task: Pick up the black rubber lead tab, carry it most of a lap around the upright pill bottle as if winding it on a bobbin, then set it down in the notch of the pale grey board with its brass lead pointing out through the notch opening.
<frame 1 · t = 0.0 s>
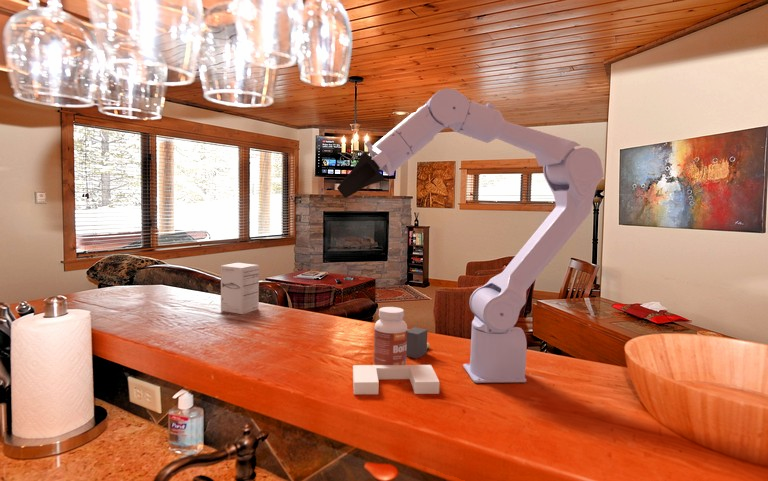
hand: (341, 193, 77), 32 cm above the counter, tool tilted 50°, fingers open, 7 cm apart
supplement box: (240, 311, 124), on the counter
pill bottle: (389, 368, 85), on the counter
notched board: (394, 384, 77), on the counter
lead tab: (415, 354, 93), on the counter
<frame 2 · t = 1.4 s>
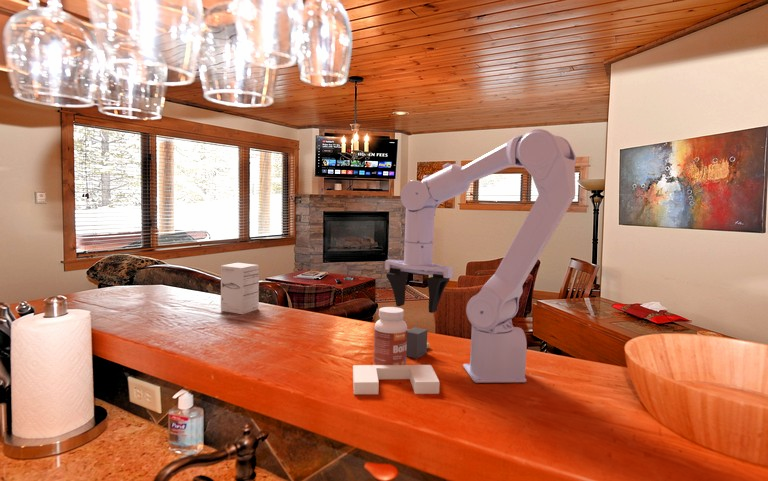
hand: (416, 308, 92), 10 cm above the counter, tool pointing down, fingers open, 7 cm apart
nothing on the counter moved.
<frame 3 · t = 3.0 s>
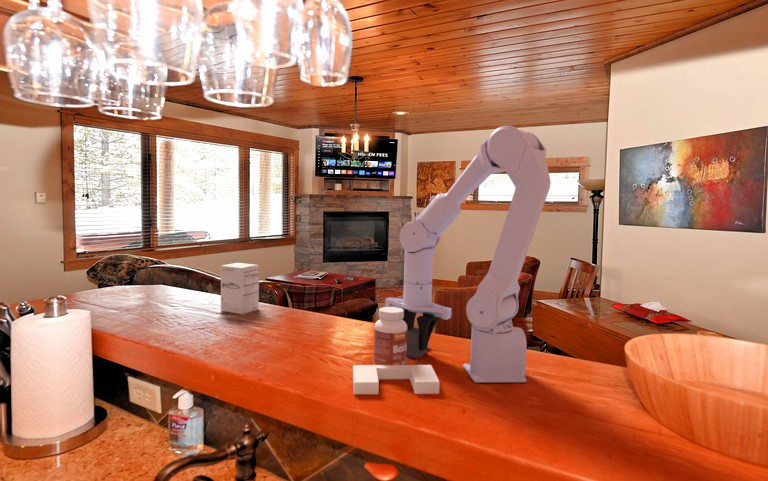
hand: (415, 347, 93), 1 cm above the counter, tool pointing down, fingers closed on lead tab, 3 cm apart
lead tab: (415, 354, 93), on the counter, touching gripper
everything else where it was.
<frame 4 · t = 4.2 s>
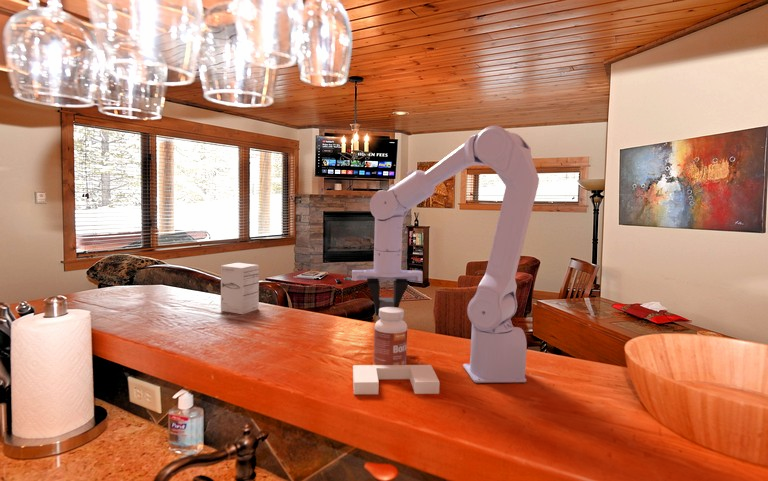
hand: (385, 314, 94), 7 cm above the counter, tool pointing down, fingers closed on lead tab, 3 cm apart
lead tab: (385, 323, 95), point 5 cm above the counter, touching gripper
everything else where it was.
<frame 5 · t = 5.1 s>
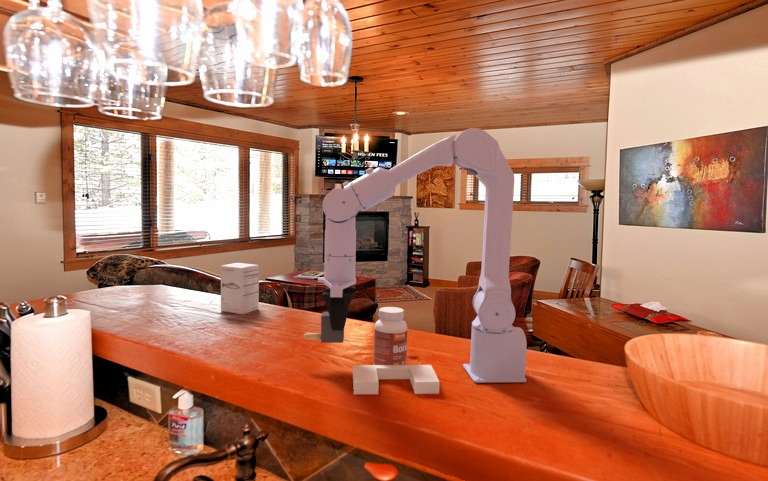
hand: (338, 327, 84), 7 cm above the counter, tool pointing down, fingers closed on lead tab, 3 cm apart
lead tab: (332, 340, 85), point 5 cm above the counter, touching gripper
everything else where it was.
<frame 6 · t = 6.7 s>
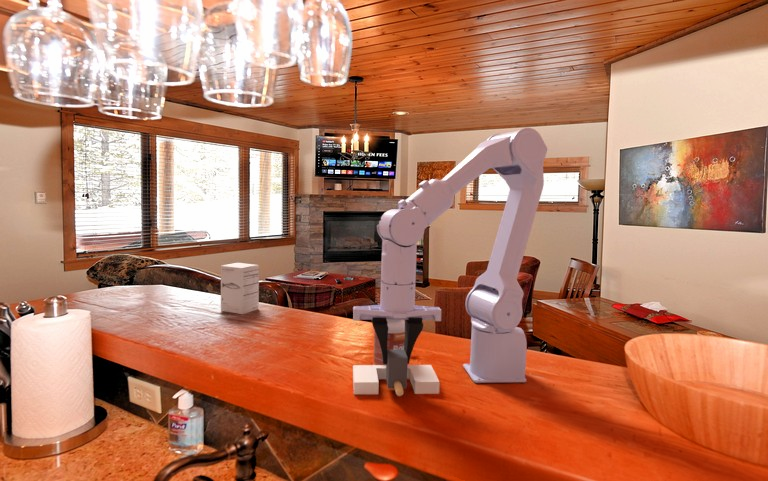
hand: (395, 361, 76), 4 cm above the counter, tool pointing down, fingers closed on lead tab, 3 cm apart
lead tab: (395, 383, 75), point 1 cm above the counter, touching gripper
everything else where it was.
when the fingers open (3 cm above the counter, at t = 7.3 s): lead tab stays where it is, on the counter.
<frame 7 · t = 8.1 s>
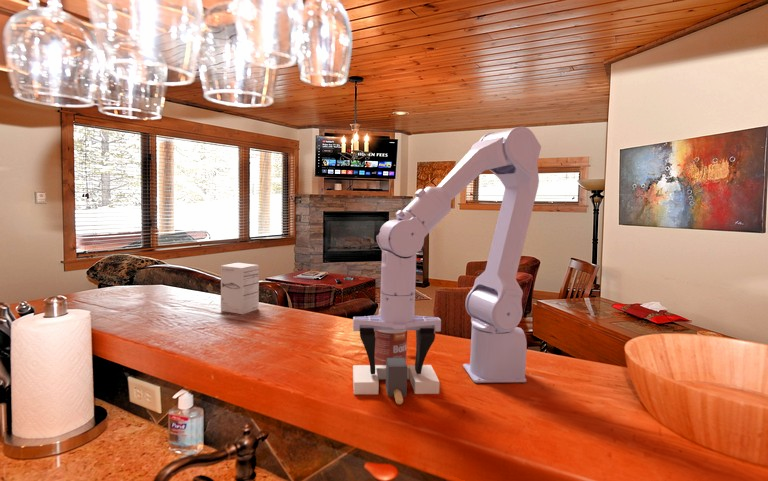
hand: (395, 372, 76), 3 cm above the counter, tool pointing down, fingers open, 7 cm apart
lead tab: (395, 391, 75), on the counter
everything else where it was.
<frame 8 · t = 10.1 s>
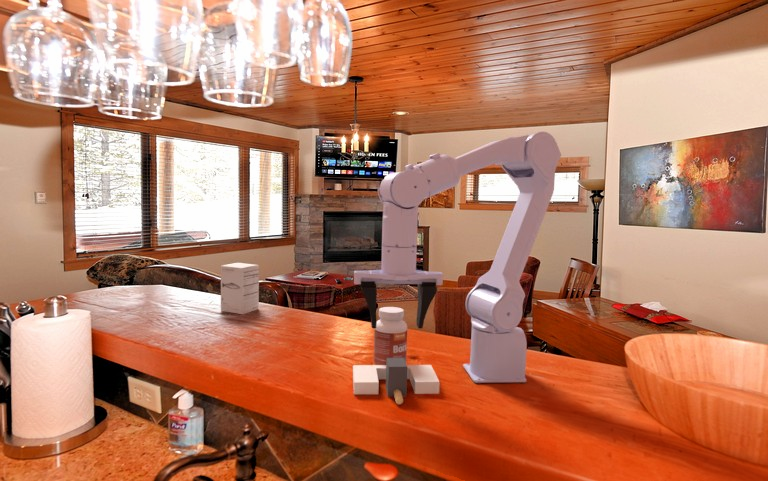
hand: (396, 326, 75), 10 cm above the counter, tool pointing down, fingers open, 7 cm apart
nothing on the counter moved.
at the end: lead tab 1.9 cm off-centre on the notched board, point 0.0 cm above the notched board's base; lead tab tilted 0°; pill bottle moved 0.2 cm from its start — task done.
